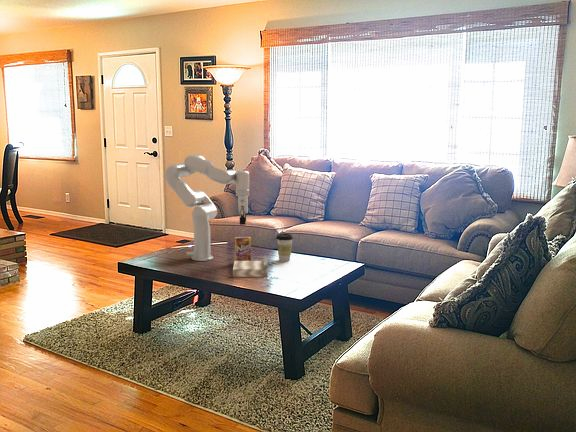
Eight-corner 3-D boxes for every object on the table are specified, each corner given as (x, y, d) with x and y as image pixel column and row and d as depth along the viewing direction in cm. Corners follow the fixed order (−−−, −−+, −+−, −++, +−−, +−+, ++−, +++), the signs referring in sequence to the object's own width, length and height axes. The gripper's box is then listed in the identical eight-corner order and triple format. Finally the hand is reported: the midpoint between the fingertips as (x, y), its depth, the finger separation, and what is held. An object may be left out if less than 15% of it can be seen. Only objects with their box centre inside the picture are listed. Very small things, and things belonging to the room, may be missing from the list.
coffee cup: (273, 261, 331) (273, 236, 329) (279, 257, 340) (280, 233, 338) (289, 263, 328) (289, 237, 325) (295, 259, 337) (295, 234, 334)
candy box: (235, 264, 323) (235, 238, 320) (234, 262, 327) (234, 236, 325) (251, 263, 325) (251, 237, 322) (249, 262, 329) (249, 236, 327)
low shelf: (232, 276, 298) (232, 264, 297) (234, 267, 316) (234, 256, 315) (267, 276, 299) (267, 264, 298) (267, 267, 317) (267, 256, 316)
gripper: (248, 194, 311) (249, 225, 314) (249, 190, 328) (250, 220, 331) (235, 194, 311) (235, 225, 313) (236, 190, 328) (236, 220, 331)
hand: (242, 222), depth 322 cm, fingers open, 9 cm apart
